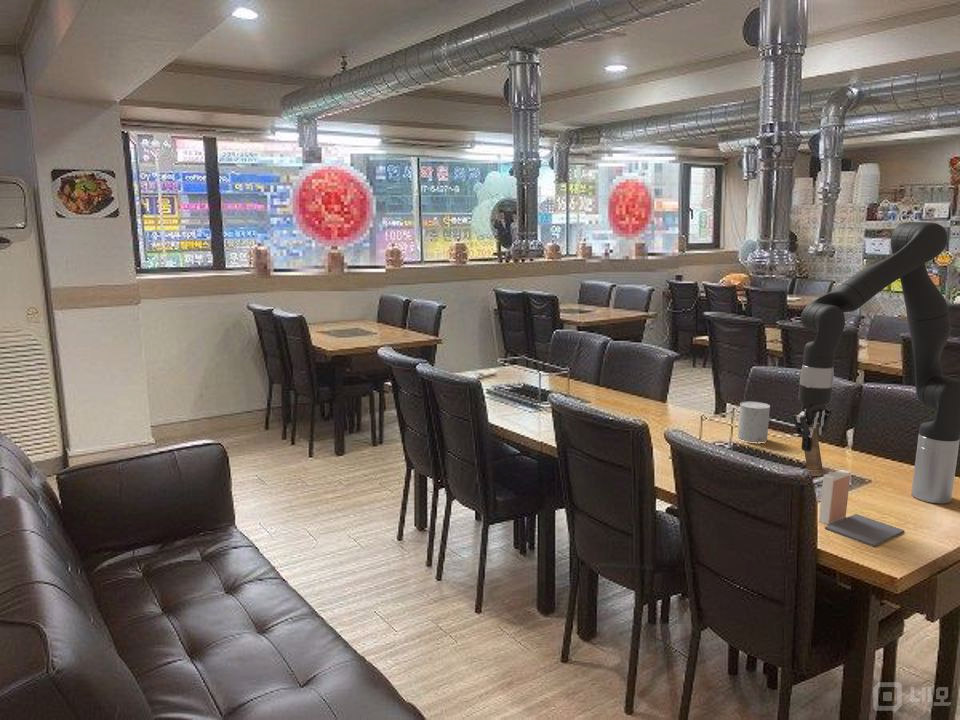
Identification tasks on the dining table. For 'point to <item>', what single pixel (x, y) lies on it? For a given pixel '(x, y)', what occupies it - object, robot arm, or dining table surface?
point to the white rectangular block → (834, 496)
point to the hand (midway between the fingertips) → (809, 449)
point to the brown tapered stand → (815, 457)
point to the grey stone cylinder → (753, 421)
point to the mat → (864, 530)
